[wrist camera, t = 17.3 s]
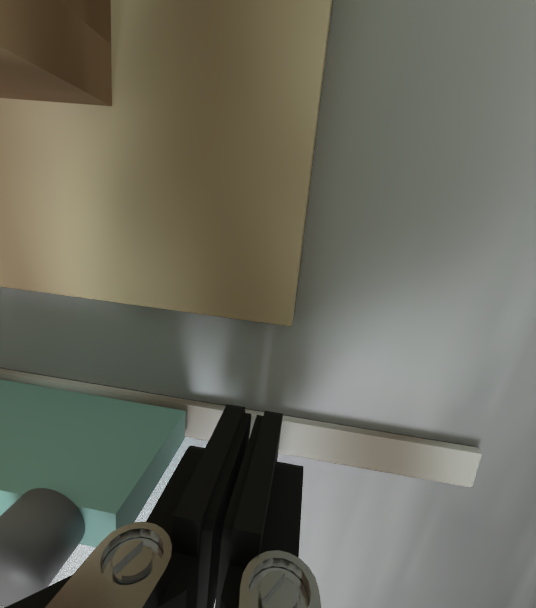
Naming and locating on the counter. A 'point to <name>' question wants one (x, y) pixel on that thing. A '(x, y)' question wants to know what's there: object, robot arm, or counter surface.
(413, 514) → the counter surface
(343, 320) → the counter surface
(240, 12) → the seat
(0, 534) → the bar
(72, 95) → the block
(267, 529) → the robot arm
